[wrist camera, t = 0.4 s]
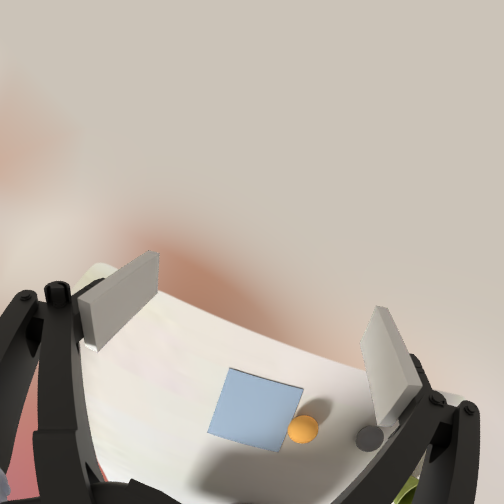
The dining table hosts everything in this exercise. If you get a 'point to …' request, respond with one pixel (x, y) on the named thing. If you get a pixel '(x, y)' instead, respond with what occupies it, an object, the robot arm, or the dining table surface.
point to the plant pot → (407, 491)
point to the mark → (254, 411)
